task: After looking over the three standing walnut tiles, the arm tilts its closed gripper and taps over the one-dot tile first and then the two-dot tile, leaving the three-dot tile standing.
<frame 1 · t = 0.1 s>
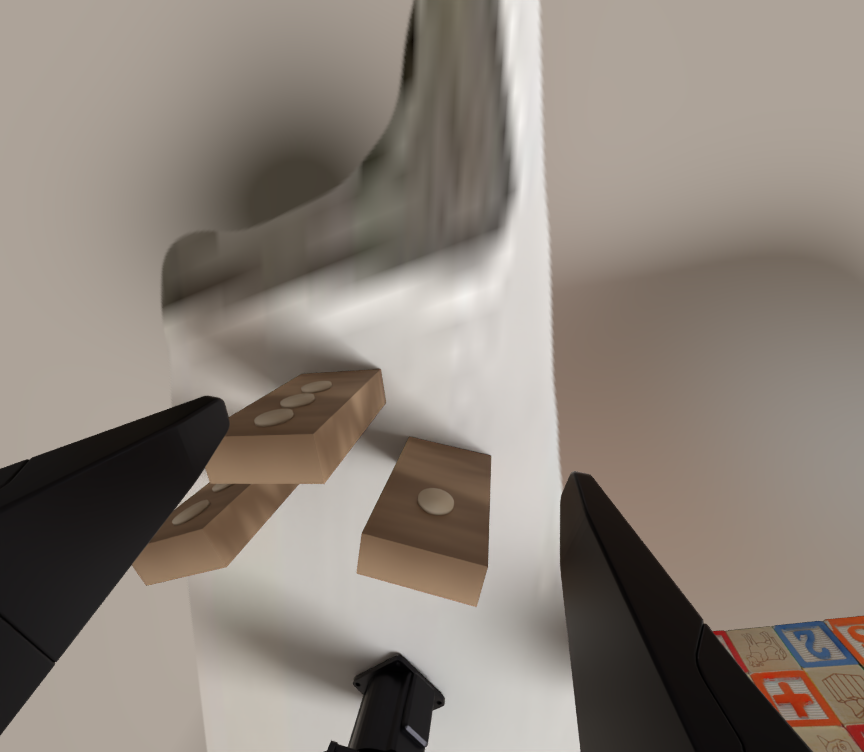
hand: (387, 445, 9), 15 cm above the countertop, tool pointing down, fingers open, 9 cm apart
tile one: (446, 460, 27), on the countertop
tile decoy: (343, 388, 26), on the countertop
stack of blocks: (798, 649, 27), on the countertop
tile two: (276, 462, 29), on the countertop
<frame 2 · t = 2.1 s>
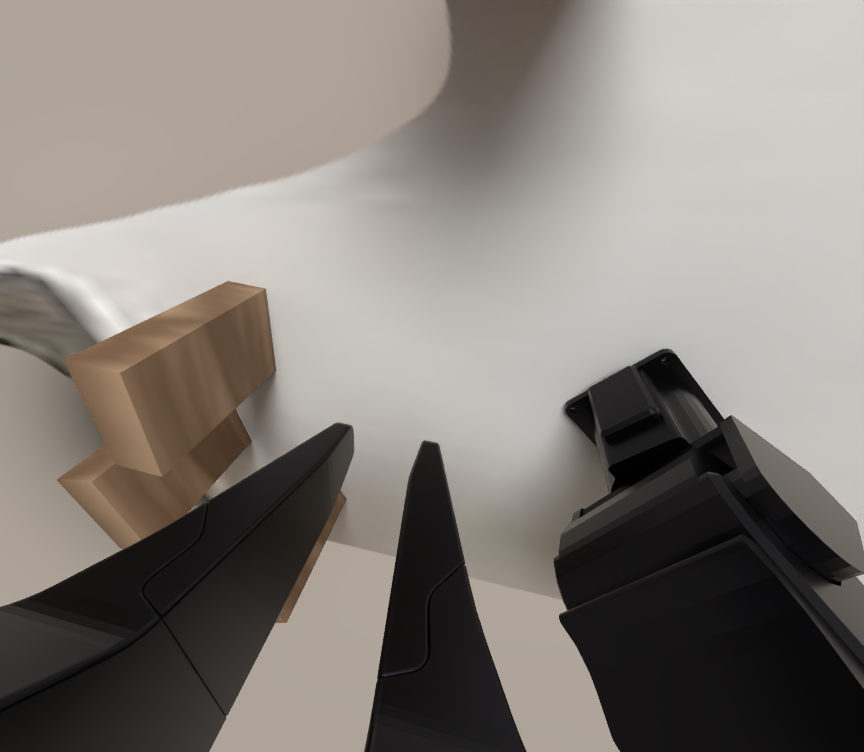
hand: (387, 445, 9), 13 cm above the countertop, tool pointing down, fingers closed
tile one: (253, 328, 24), on the countertop
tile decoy: (223, 412, 29), on the countertop
tile two: (316, 477, 31), on the countertop
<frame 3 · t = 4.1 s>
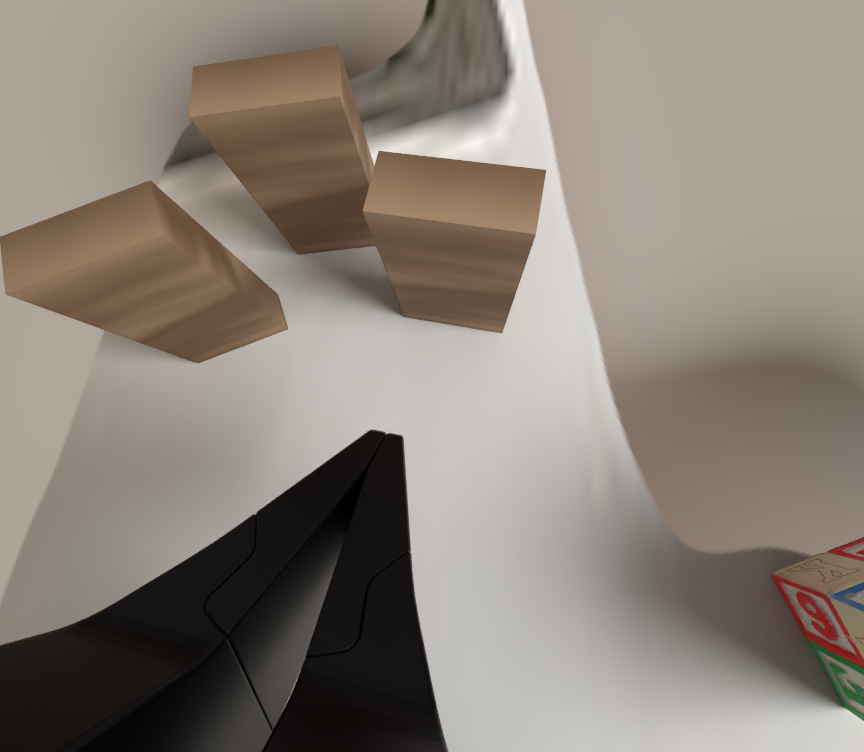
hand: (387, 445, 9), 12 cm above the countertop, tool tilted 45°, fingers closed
tile one: (456, 305, 23), on the countertop
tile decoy: (343, 232, 24), on the countertop
tile two: (238, 328, 23), on the countertop
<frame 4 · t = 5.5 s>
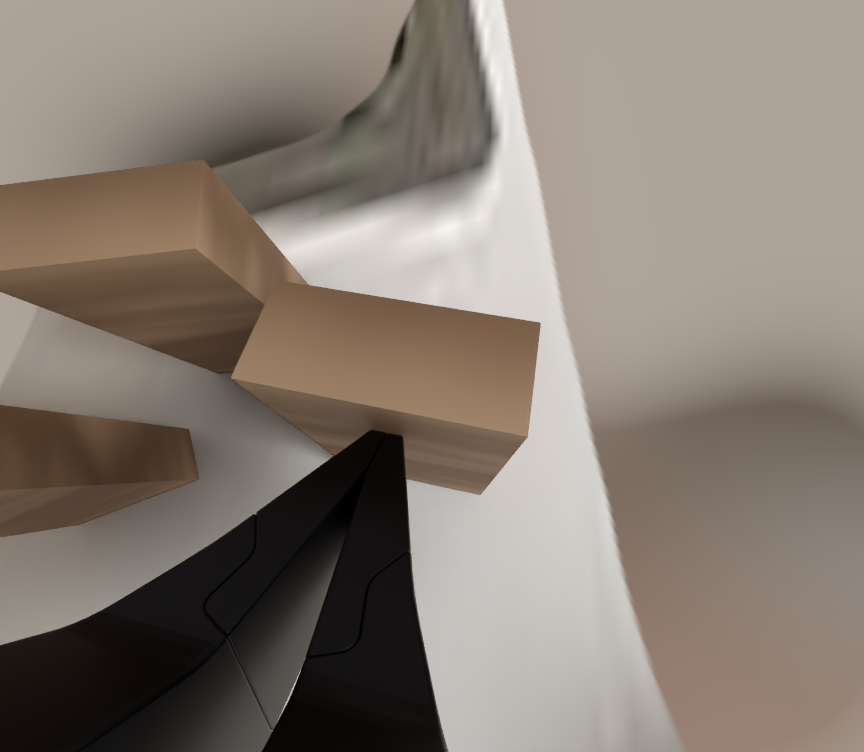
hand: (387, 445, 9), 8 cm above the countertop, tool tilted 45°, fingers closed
tile one: (419, 452, 17), on the countertop, tilted 11°
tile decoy: (277, 344, 19), on the countertop
tile two: (134, 476, 18), on the countertop
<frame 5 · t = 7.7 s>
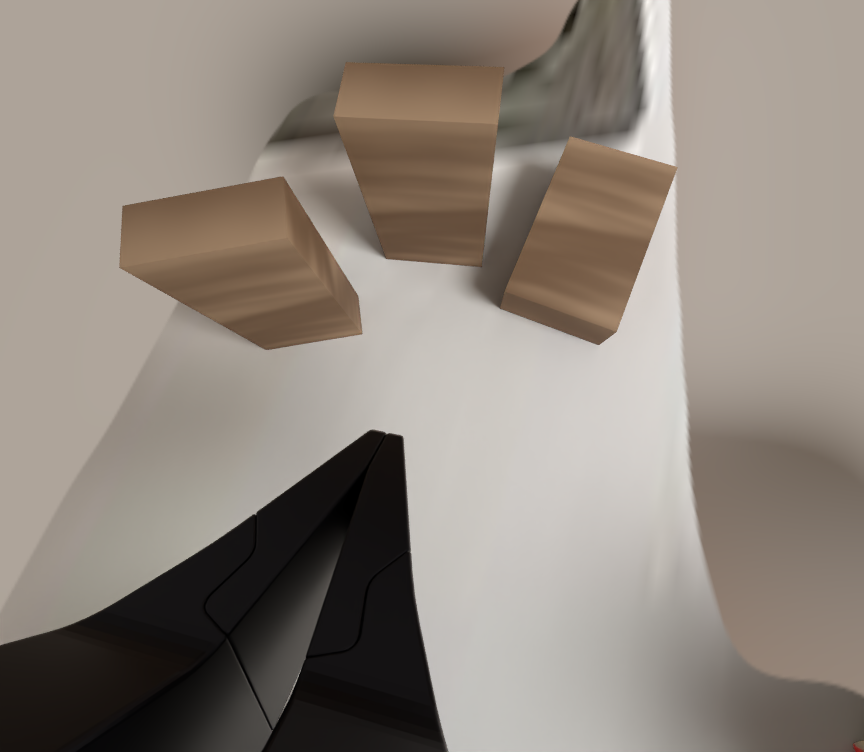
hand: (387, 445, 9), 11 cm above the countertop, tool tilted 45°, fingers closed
tile one: (553, 319, 20), point 1 cm above the countertop, tilted 88°
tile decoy: (435, 244, 23), on the countertop
tile two: (312, 322, 23), on the countertop
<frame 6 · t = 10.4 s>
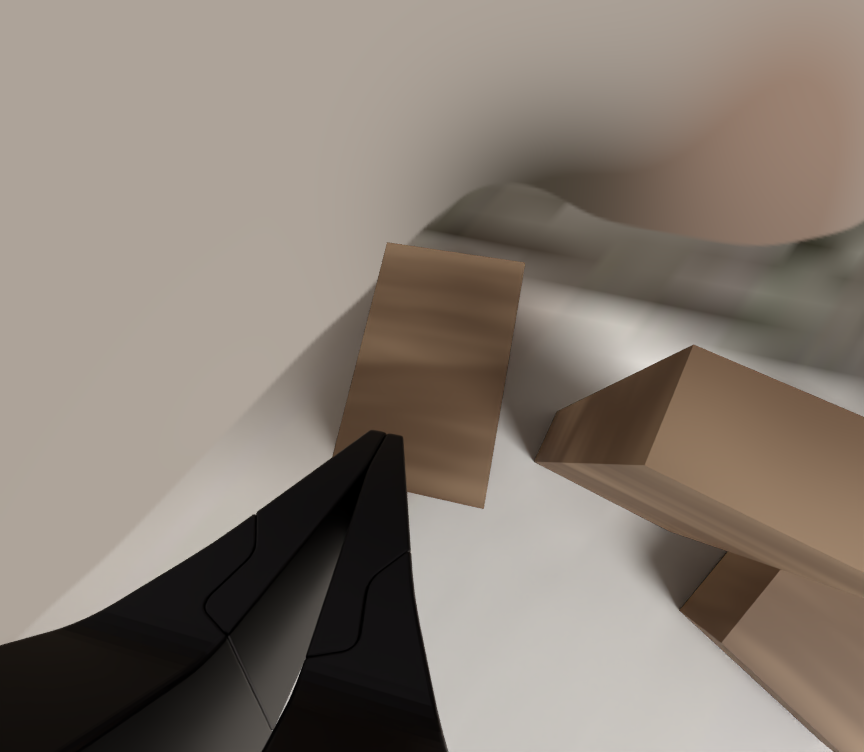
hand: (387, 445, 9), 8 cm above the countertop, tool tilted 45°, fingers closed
tile one: (773, 694, 13), point 1 cm above the countertop, tilted 88°
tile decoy: (610, 468, 16), on the countertop
tile two: (408, 488, 15), point 1 cm above the countertop, tilted 90°
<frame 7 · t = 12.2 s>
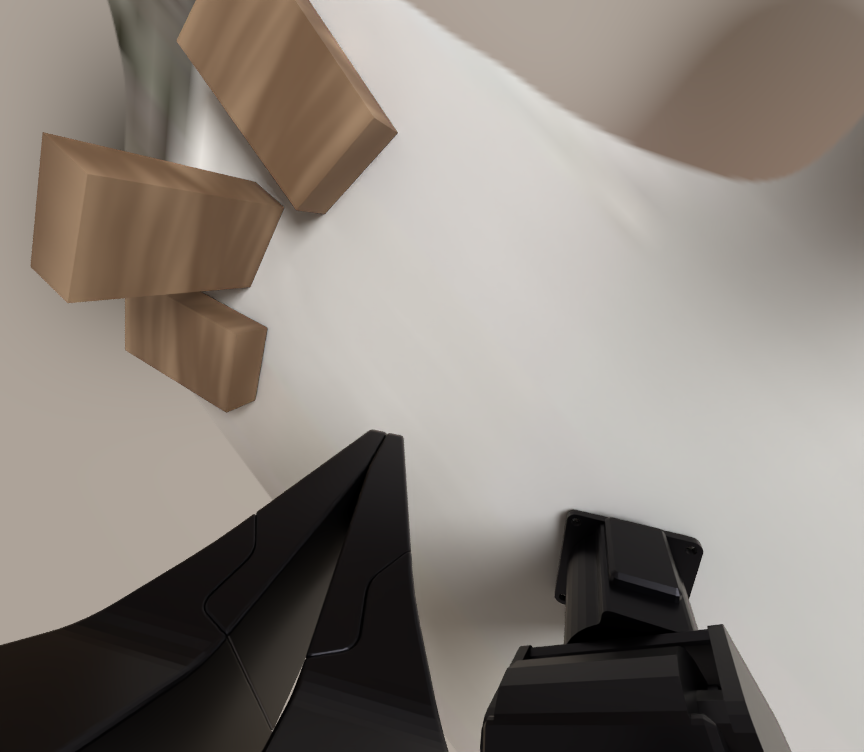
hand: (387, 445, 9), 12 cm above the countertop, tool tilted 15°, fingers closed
tile one: (346, 172, 19), point 1 cm above the countertop, tilted 88°
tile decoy: (252, 237, 24), on the countertop
tile two: (246, 370, 25), point 1 cm above the countertop, tilted 90°
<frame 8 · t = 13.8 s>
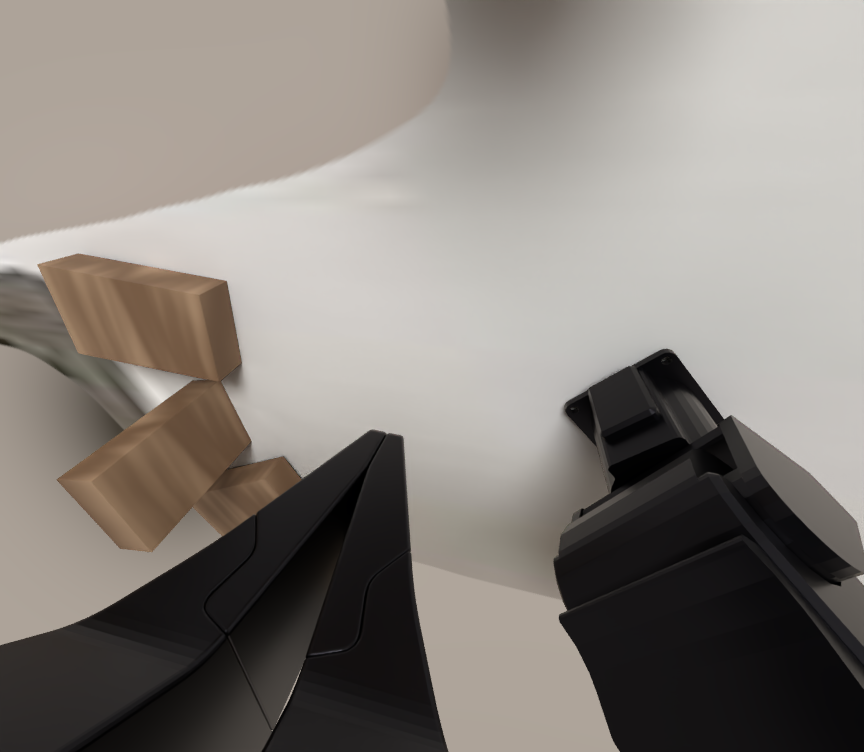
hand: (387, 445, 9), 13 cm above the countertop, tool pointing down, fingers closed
tile one: (222, 332, 24), point 1 cm above the countertop, tilted 88°
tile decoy: (223, 412, 29), on the countertop
tile two: (295, 493, 31), point 1 cm above the countertop, tilted 90°
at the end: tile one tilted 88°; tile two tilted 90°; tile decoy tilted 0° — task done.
